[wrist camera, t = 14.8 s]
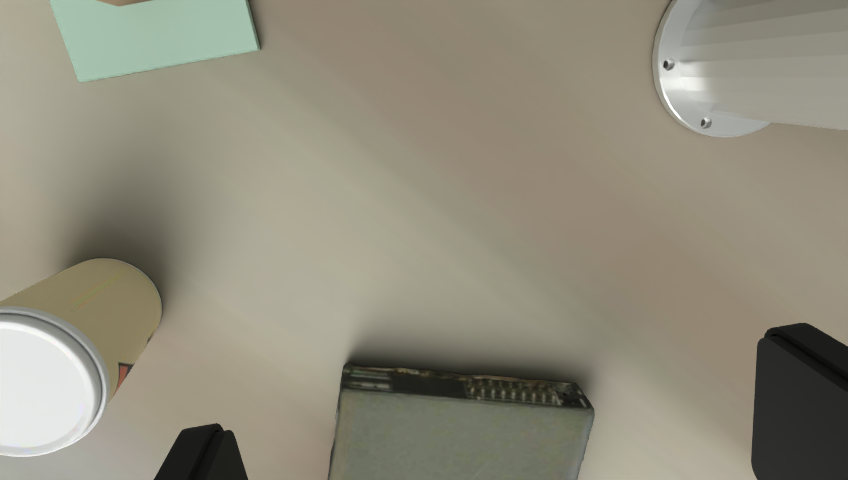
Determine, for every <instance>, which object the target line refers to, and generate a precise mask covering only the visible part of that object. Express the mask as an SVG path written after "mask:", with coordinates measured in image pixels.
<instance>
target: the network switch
mask: <svg viewBox="0 0 848 480" xmlns="http://www.w3.org/2000/svg"><path fill="white" fill-rule="evenodd" d="M524 381H525V382H524ZM551 385H552V386H551ZM562 392H563V393H565V394H566V395H563V393H562ZM593 421H594V408H593V407H592V405H591V403H590V402H589V400H588V399H587V397H586V396H584V394H583V392H582V390H581V389H580V388H579V387H578V385H577V384H576V383H562V382H553V381H545V380H522V379H518V378H511V377H500V376H490V375H460V374H454V373H453V372H448V373H444V372H436V371H433V370H424V369H423V370H417V369H405V368H381V367H368V366H354V365H352V364H351V363H350V362H348V363H346V364H345V365H344V367H343V371H342V378H341V383H340V393H339V399H338V405H337V411H336V426H335V439H334V443H333V447H332V451H331V457H330V468H329V474H328V480H577V478H578V474H579V470H580V466H581V463H582V461H583V458H584V453H585V449H586V445H587V442H588V439H589V433H590V430H591V428H592V425H593Z"/></svg>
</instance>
